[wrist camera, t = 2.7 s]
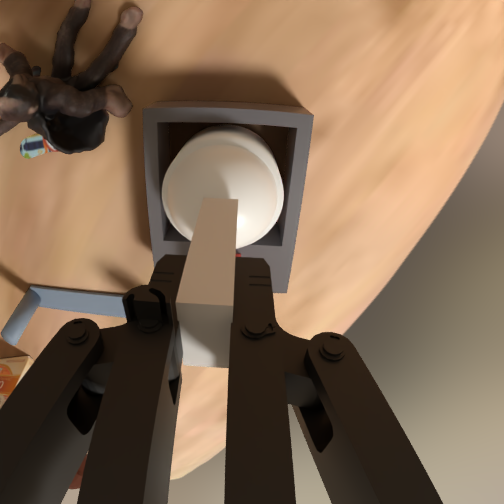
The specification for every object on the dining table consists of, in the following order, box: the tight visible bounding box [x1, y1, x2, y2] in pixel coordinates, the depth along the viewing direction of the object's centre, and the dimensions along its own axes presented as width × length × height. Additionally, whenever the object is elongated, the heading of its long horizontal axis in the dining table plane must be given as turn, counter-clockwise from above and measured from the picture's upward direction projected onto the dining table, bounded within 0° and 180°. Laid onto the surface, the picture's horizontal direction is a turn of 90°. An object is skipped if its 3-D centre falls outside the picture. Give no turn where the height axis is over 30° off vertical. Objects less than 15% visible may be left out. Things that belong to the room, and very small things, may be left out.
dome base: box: [143, 101, 314, 293], centre depth 19 cm, size 12×9×5 cm
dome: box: [162, 124, 284, 249], centre depth 17 cm, size 6×6×6 cm
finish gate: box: [1, 285, 126, 345], centre depth 24 cm, size 2×16×6 cm, turn 86°
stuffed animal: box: [0, 0, 143, 159], centre depth 16 cm, size 12×10×12 cm
